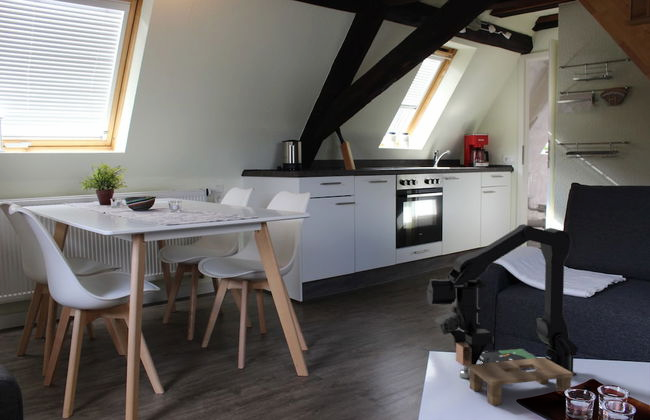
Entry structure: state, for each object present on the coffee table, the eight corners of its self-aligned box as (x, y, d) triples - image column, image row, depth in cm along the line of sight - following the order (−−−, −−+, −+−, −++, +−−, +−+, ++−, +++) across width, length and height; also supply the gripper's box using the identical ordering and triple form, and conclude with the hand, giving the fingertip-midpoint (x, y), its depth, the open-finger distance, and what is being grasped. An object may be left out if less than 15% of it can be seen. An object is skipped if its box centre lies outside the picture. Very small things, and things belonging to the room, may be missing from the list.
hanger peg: (469, 373, 161) (469, 341, 160) (476, 378, 157) (476, 346, 157) (455, 374, 160) (456, 342, 159) (462, 380, 156) (463, 347, 156)
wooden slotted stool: (543, 379, 156) (543, 357, 156) (572, 396, 145) (572, 373, 144) (468, 387, 151) (468, 364, 151) (491, 406, 140) (492, 381, 139)
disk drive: (492, 373, 163) (541, 368, 166) (492, 363, 163) (541, 358, 166) (476, 360, 173) (522, 356, 176) (476, 351, 173) (522, 347, 176)
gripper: (425, 297, 164) (424, 352, 166) (454, 314, 146) (454, 375, 147) (461, 295, 167) (461, 348, 168) (495, 311, 149) (494, 371, 150)
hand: (466, 360), depth 158 cm, fingers open, 8 cm apart
